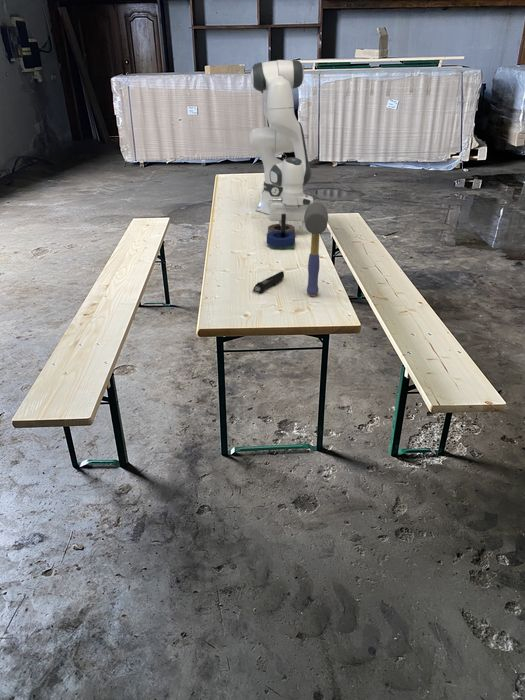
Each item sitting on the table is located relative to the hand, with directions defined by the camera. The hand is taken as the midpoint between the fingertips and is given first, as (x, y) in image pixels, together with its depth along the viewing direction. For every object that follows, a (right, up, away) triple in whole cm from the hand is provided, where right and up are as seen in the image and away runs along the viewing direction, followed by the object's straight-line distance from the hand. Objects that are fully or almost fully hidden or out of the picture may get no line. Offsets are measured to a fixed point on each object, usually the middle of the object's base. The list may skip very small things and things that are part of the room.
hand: (291, 230), depth 231 cm
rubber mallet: (+4, -34, -53) cm, 63 cm away
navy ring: (-5, -8, -11) cm, 14 cm away
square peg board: (-4, -9, -11) cm, 15 cm away
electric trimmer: (-11, -30, -47) cm, 56 cm away
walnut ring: (-5, -2, +1) cm, 5 cm away
